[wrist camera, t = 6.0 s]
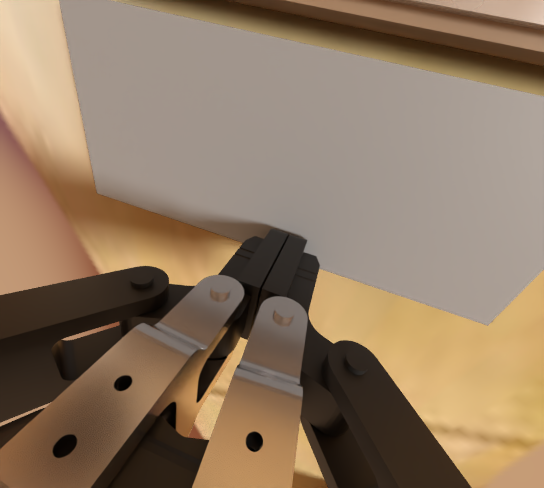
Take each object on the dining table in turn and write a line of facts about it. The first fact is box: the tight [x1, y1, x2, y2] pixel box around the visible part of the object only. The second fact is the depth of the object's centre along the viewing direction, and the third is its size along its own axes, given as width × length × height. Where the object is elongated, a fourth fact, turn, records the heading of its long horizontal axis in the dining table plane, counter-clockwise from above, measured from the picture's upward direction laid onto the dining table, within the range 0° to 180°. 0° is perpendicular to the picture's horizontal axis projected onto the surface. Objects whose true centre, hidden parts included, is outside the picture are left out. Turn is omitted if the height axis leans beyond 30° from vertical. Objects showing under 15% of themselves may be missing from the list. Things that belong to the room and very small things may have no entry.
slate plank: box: [59, 0, 544, 325], centre depth 10 cm, size 7×17×2 cm, turn 78°
